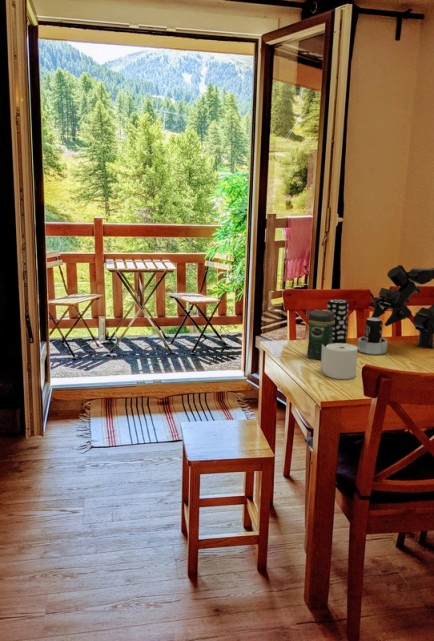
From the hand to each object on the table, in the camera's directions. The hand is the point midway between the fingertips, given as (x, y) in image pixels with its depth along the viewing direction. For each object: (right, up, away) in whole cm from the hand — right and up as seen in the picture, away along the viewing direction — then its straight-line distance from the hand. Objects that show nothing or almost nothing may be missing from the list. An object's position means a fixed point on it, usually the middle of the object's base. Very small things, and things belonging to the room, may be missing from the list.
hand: (378, 323), depth 216 cm
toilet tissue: (-22, -18, -27) cm, 39 cm away
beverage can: (-2, -10, +2) cm, 11 cm away
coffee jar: (-24, -14, -6) cm, 29 cm away
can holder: (-2, -11, +2) cm, 12 cm away
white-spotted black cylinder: (-16, -11, +5) cm, 20 cm away
